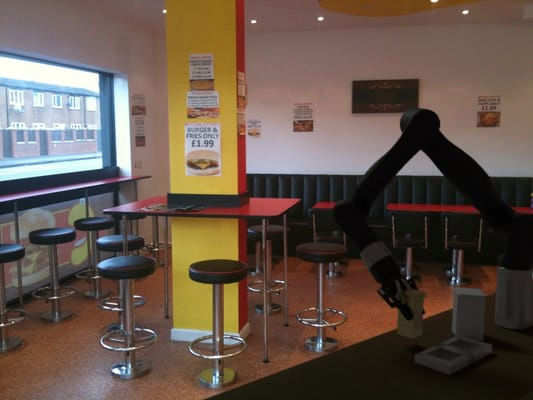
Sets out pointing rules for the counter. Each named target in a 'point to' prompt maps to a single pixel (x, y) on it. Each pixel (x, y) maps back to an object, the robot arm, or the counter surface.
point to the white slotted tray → (453, 354)
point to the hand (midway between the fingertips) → (416, 316)
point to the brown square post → (415, 304)
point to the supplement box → (468, 313)
